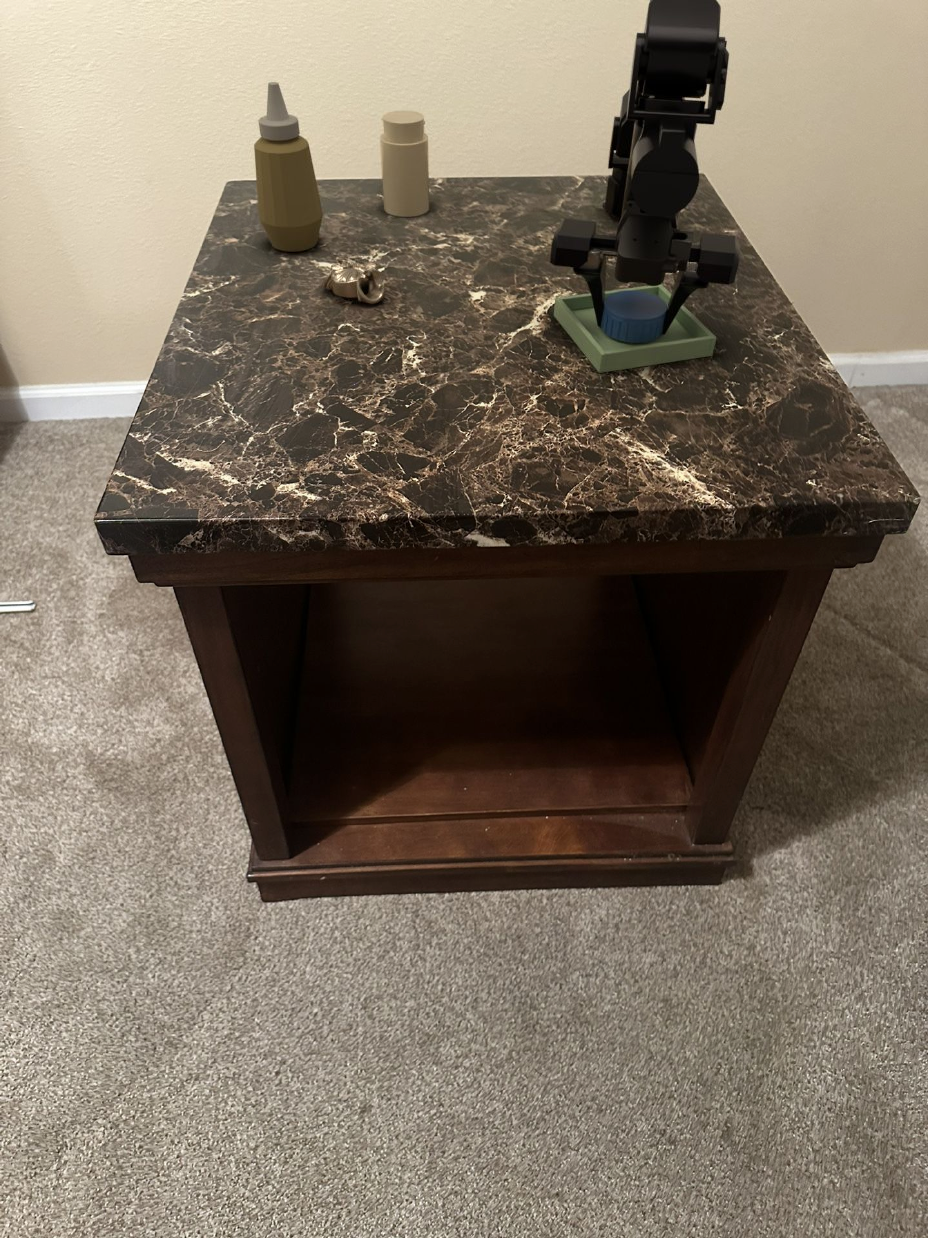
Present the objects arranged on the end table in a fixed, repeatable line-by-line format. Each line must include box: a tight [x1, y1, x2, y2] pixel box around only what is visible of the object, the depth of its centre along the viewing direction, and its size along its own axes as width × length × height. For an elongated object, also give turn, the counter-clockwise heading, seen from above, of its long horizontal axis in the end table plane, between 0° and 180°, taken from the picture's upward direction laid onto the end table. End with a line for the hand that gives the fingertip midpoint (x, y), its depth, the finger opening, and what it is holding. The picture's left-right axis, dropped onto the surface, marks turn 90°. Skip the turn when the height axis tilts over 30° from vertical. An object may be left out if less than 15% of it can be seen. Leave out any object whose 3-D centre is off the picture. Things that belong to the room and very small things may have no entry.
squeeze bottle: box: [253, 81, 324, 253], centre depth 101 cm, size 8×8×18 cm
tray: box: [553, 284, 717, 374], centre depth 91 cm, size 13×13×2 cm
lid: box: [600, 290, 667, 343], centre depth 90 cm, size 7×7×3 cm
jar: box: [379, 110, 430, 218], centre depth 112 cm, size 6×6×11 cm
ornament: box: [322, 256, 386, 305], centre depth 96 cm, size 8×7×4 cm
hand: (631, 328), depth 91 cm, fingers closed on lid, 7 cm apart
